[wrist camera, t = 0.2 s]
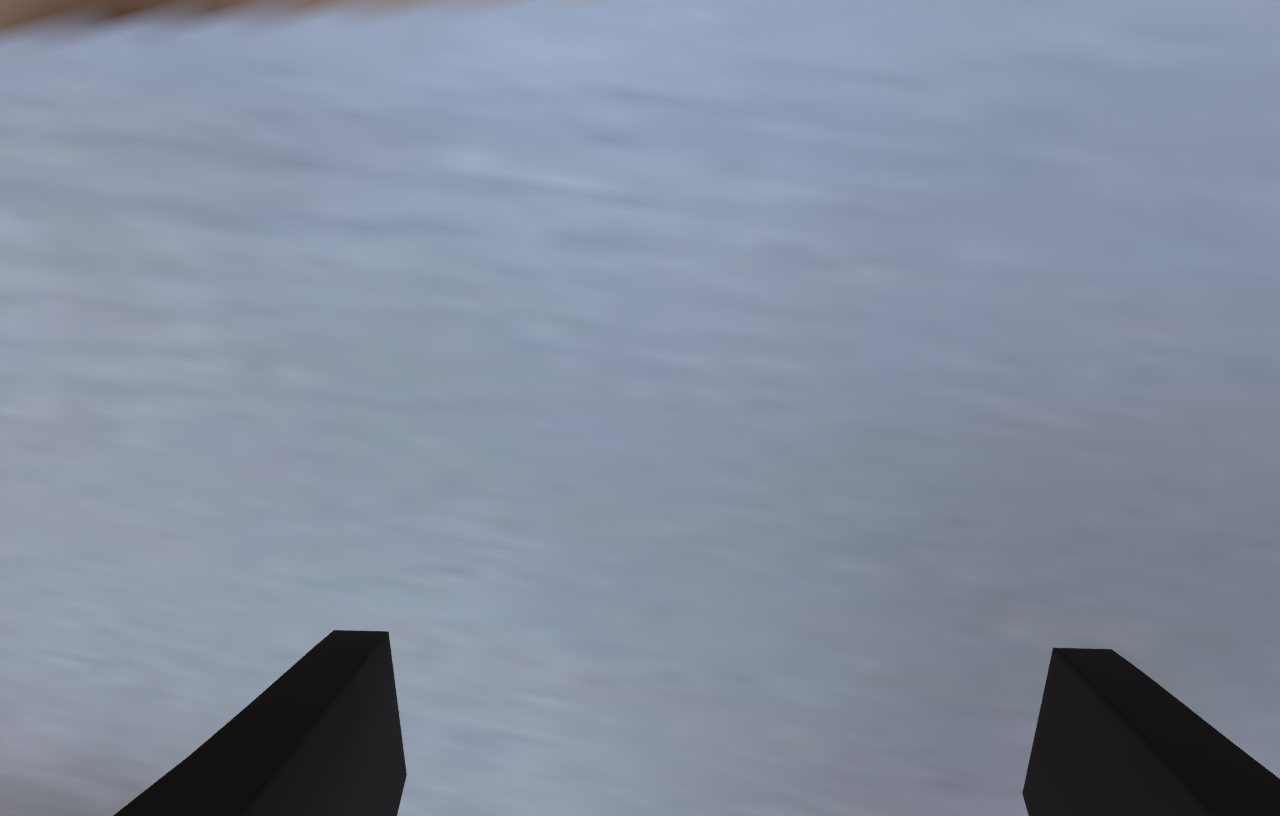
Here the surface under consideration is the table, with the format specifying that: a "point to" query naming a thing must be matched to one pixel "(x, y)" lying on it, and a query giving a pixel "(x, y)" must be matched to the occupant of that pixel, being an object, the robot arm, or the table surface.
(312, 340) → the table surface
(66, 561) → the table surface
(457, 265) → the table surface
